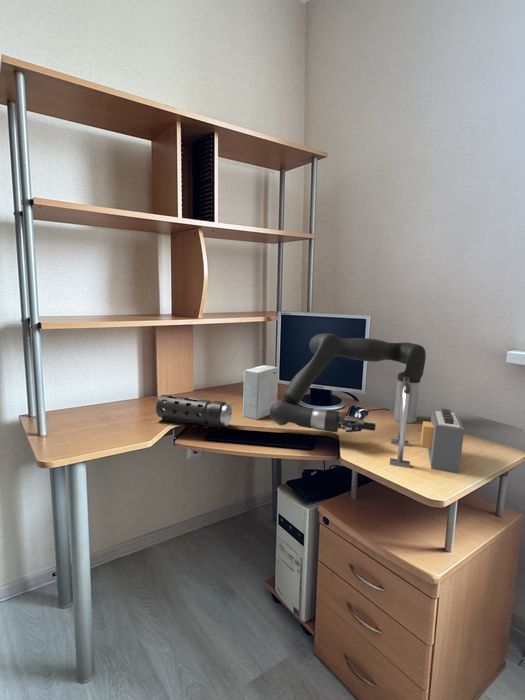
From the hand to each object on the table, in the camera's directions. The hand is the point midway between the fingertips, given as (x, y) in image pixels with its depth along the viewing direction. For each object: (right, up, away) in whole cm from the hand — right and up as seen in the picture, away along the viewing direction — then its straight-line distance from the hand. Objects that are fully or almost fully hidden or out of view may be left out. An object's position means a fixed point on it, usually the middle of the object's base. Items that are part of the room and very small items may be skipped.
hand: (375, 427), depth 147 cm
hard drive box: (-40, -1, +35) cm, 53 cm away
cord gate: (+8, -9, -1) cm, 12 cm away
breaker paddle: (+17, -5, -5) cm, 18 cm away
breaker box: (+21, -10, -5) cm, 24 cm away
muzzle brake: (-65, -2, +18) cm, 68 cm away
